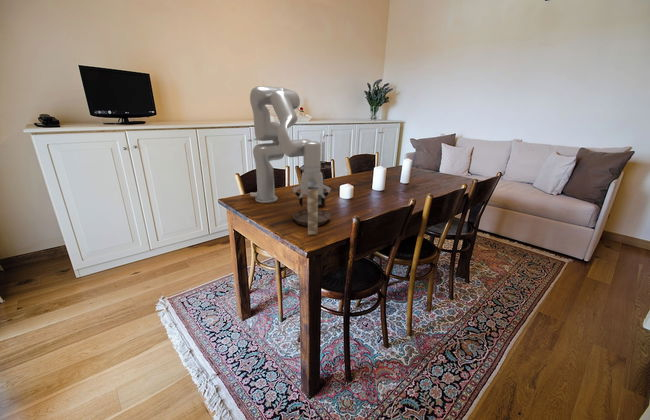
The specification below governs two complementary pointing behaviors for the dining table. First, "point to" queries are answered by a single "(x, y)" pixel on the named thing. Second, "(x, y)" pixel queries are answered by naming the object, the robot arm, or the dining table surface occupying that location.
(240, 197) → the dining table surface
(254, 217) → the dining table surface
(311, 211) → the post front
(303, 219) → the plant saucer
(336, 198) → the dining table surface
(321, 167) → the candlestick
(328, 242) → the dining table surface
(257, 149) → the robot arm
